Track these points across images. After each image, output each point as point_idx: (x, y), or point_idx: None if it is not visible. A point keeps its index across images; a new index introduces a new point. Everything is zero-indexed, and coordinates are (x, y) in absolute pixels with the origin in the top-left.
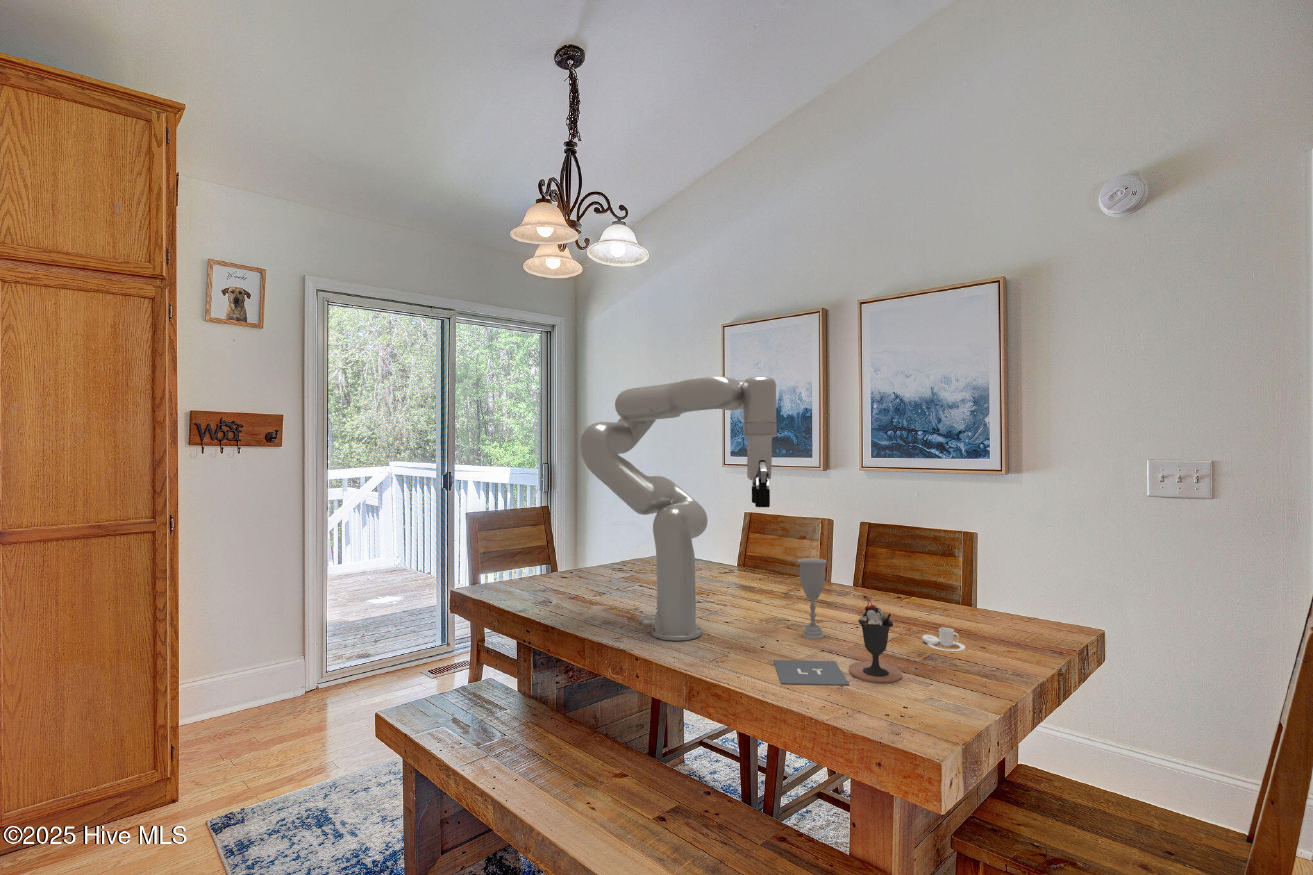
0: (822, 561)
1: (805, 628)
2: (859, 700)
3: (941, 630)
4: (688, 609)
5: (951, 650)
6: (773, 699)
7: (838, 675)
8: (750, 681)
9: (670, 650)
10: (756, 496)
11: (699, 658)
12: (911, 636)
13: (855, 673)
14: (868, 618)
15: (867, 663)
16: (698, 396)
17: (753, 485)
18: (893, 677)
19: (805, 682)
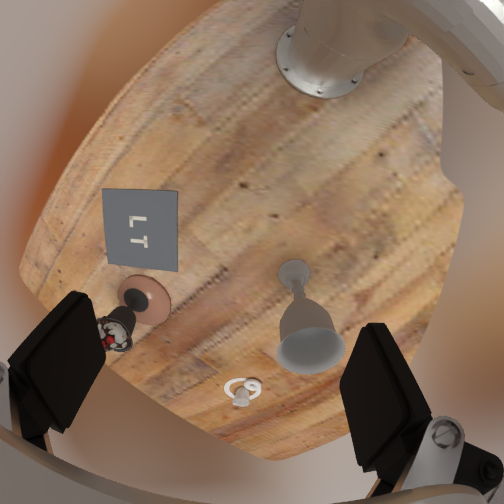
0: (320, 367)
1: (298, 268)
2: (78, 259)
3: (238, 398)
4: (300, 60)
5: (224, 387)
6: (68, 176)
7: (130, 260)
8: (108, 152)
9: (231, 44)
10: (39, 333)
11: (191, 84)
12: (276, 374)
13: (128, 278)
14: (102, 329)
15: (161, 302)
16: None
17: (426, 428)
18: None
19: (106, 217)
